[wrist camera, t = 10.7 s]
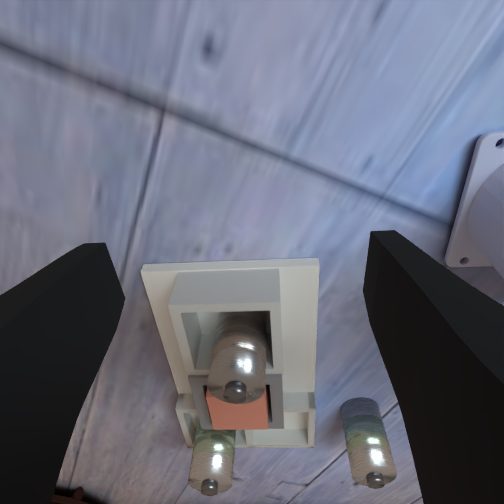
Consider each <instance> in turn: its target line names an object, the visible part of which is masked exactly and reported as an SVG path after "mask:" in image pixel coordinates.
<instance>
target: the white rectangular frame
mask: <svg viewBox="0 0 504 504" xmlns="http://www.w3.org/2000/svg"><path fill="white" fill-rule="evenodd" d="M141 275H142V279H143V282H144V285H145V288H146V292H147V295H148V298H149V301H150V304H151V308H152V311H153V314H154V317H155V320H156V324H157V327H158V330H159V333H160V337H161V340H162V343H163V346H164V349H165V353H166V356H167V359H168V362H169V365H170V369H171V372H172V375H173V378H174V382H175V385H176V388H177V391H178V394H179V395H178V400H177V404H176V408H175V410H176V413H177V416H178V419H179V422H180V425H181V428H182V431H183V434H184V437H185V440H186V443H187V446H188V448H194V442H195V436H196V430H197V426H198V420H200V424H201V427H202V429H213V425H212V421H211V416H210V412H209V408H208V404H207V400H206V393H207V381H208V375H209V369H210V364H211V356H212V350H213V345H214V339H215V334H216V328H217V324H218V318H219V313H220V312H233V311H266V313H267V348H266V371H265V385H268V429H264V430H236V440H235V448H314V436H315V413H316V407H315V398H314V392H315V366H316V340H317V314H318V288H319V261H318V258H297V259H270V260H243V261H216V262H189V263H162V264H144V265H143V267H142V270H141Z"/></svg>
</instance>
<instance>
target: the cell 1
mask: <svg viewBox="0 0 504 504" xmlns="http://www.w3.org/2000/svg"><path fill="white" fill-rule="evenodd" d="M235 440H236V430H214V429H202V427H201V424H200V420H198V426H197V430H196V436H195V442H194V448H193V454H192V462H191V468H190V474H189V480H188V482H189V484H190V486H191V487H193V488H194V489H197V490H199V491H201V493H202V494H204V495H207V496H213V495H216V494H217V493H218V492H223V491H226V490H228V489H230V488H231V486H232V476H233V464H234V453H235Z"/></svg>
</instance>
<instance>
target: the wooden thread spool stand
mask: <svg viewBox="0 0 504 504" xmlns="http://www.w3.org/2000/svg"><path fill="white" fill-rule="evenodd" d="M82 497H83V488H82V487H79V488H78V489H77V490H76V491H75V492H74V494H73V496H72V498H69V497H65V496H60V495H54V494H53V497H52V500H51V504H89V503H86V502H83V501H82Z"/></svg>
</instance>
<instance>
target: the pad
mask: <svg viewBox="0 0 504 504" xmlns="http://www.w3.org/2000/svg"><path fill="white" fill-rule="evenodd" d="M206 400H207V404H208V408H209V412H210V416H211V421H212V425H213V429H214V430H264V429H268V385H265V391H264V394H263V395H262V396H261V397H260V398H259V399H258V400H256V401H254V402H251V403H246V404H232V403H227V402H224V401H221V400H219V399H217V398H215V397H214V396H213V395H212V394H211V393H210V392H209V391H208V388H207V393H206Z"/></svg>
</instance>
